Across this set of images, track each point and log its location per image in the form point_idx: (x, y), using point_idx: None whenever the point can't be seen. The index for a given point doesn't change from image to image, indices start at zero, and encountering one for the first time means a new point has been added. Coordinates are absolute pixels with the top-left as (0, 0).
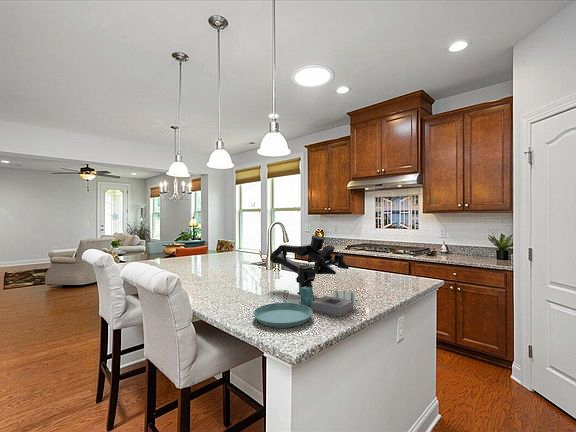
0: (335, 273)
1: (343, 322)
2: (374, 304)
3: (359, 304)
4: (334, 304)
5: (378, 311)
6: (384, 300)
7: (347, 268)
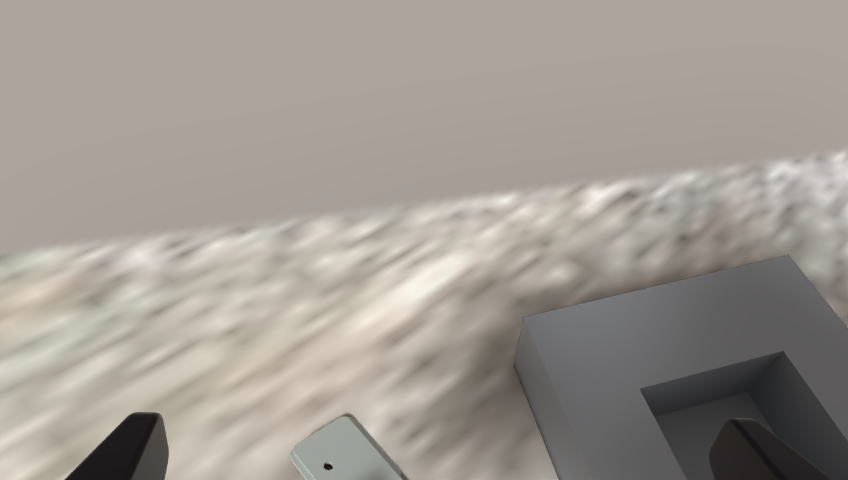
0: (732, 438)
1: (778, 229)
2: (211, 350)
3: (341, 421)
4: (794, 346)
5: (369, 227)
6: (7, 370)
7: (165, 463)
